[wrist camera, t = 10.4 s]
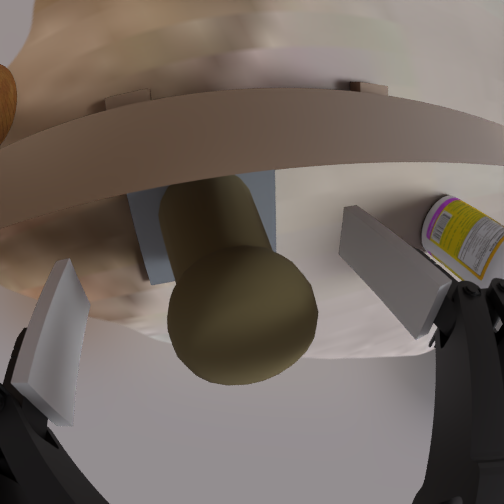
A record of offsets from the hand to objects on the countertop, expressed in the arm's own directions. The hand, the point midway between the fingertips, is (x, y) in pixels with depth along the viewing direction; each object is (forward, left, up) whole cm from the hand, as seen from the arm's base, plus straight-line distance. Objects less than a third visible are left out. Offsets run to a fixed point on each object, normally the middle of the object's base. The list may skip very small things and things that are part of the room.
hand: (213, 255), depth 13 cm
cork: (0, 0, -6) cm, 6 cm away
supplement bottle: (+5, +23, -6) cm, 25 cm away
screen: (-6, +4, -6) cm, 10 cm away
